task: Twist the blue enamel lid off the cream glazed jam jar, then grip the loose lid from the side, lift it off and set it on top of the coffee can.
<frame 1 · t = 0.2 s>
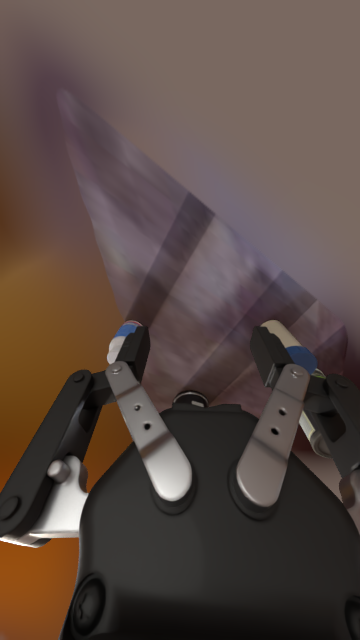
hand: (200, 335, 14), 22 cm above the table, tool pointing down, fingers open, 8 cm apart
coffee can: (300, 382, 45), on the table
pill bottle: (133, 330, 40), on the table
lid: (296, 365, 29), point 11 cm above the table, screwed on, not yet turned
jar: (270, 331, 39), on the table
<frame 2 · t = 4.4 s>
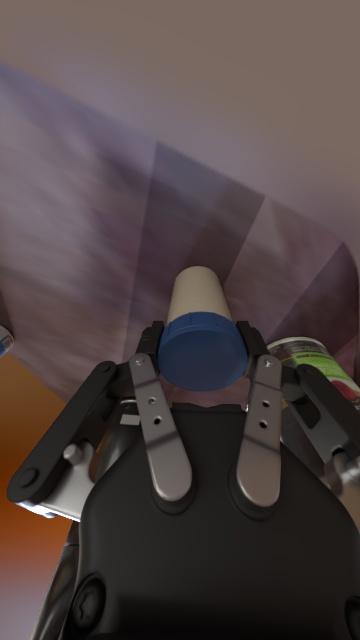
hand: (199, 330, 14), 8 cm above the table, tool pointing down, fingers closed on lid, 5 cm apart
coffee can: (286, 361, 27), on the table
lid: (201, 360, 12), point 11 cm above the table, screwed on, not yet turned, touching gripper
jar: (196, 289, 21), on the table
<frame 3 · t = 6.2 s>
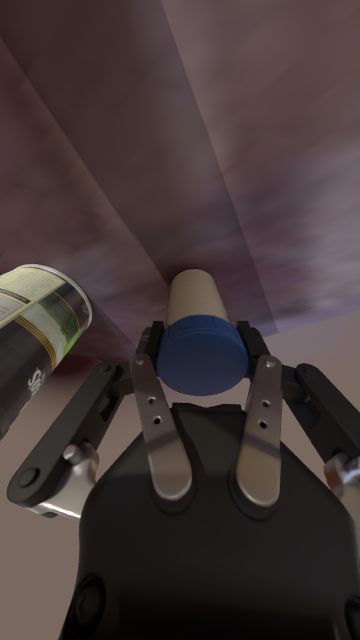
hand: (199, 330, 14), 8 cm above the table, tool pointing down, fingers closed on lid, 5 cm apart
coffee can: (52, 302, 23), on the table
lid: (201, 364, 12), point 11 cm above the table, off its thread, touching gripper
jar: (193, 291, 21), on the table, touching gripper
when the fingers open (7 cm above the table, at t = 7.1 s): lid stays where it is, resting on jar.
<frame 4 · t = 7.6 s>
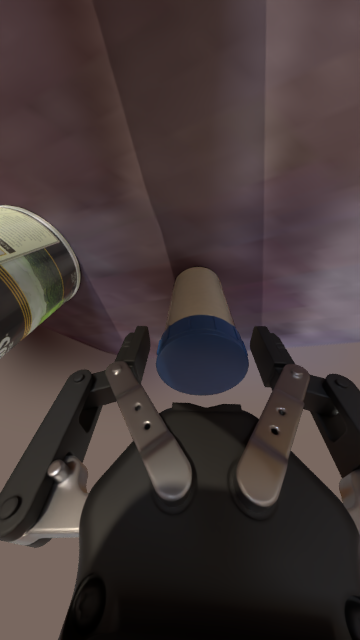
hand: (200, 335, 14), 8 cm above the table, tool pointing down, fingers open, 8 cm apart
coffee can: (33, 260, 19), on the table
lid: (201, 364, 12), point 11 cm above the table, off its thread, touching jar
jar: (197, 290, 20), on the table, touching lid
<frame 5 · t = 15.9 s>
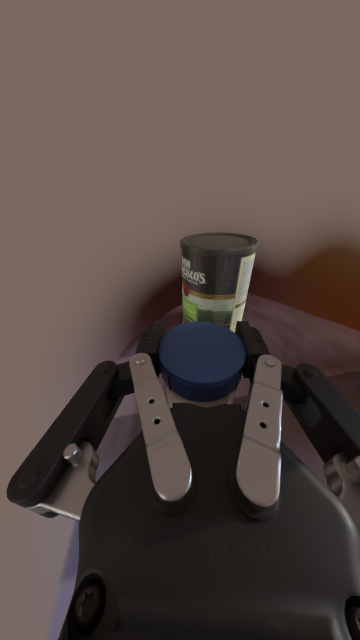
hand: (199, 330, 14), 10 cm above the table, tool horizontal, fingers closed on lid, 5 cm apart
coffee can: (211, 324, 33), on the table
lid: (200, 350, 12), point 11 cm above the table, off its thread, touching gripper, jar
jar: (197, 426, 18), on the table, touching lid
when the fingers open (15 cm above the table, at t = 23.0 s): lid stays where it is, resting on coffee can.
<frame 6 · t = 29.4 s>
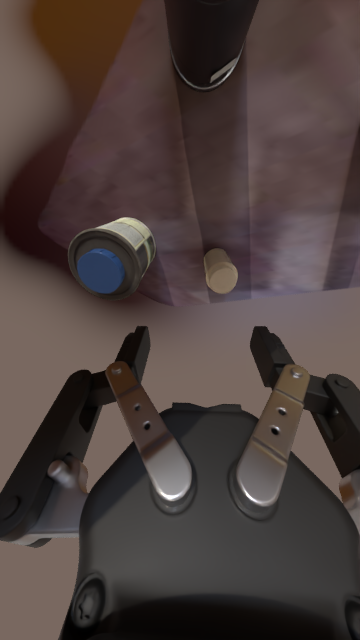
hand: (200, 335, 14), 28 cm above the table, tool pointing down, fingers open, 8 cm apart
coffee can: (131, 245, 38), on the table, touching lid
lid: (100, 273, 25), point 16 cm above the table, off its thread, touching coffee can
jar: (215, 261, 38), on the table
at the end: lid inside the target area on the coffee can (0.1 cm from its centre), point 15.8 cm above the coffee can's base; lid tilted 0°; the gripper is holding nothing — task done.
